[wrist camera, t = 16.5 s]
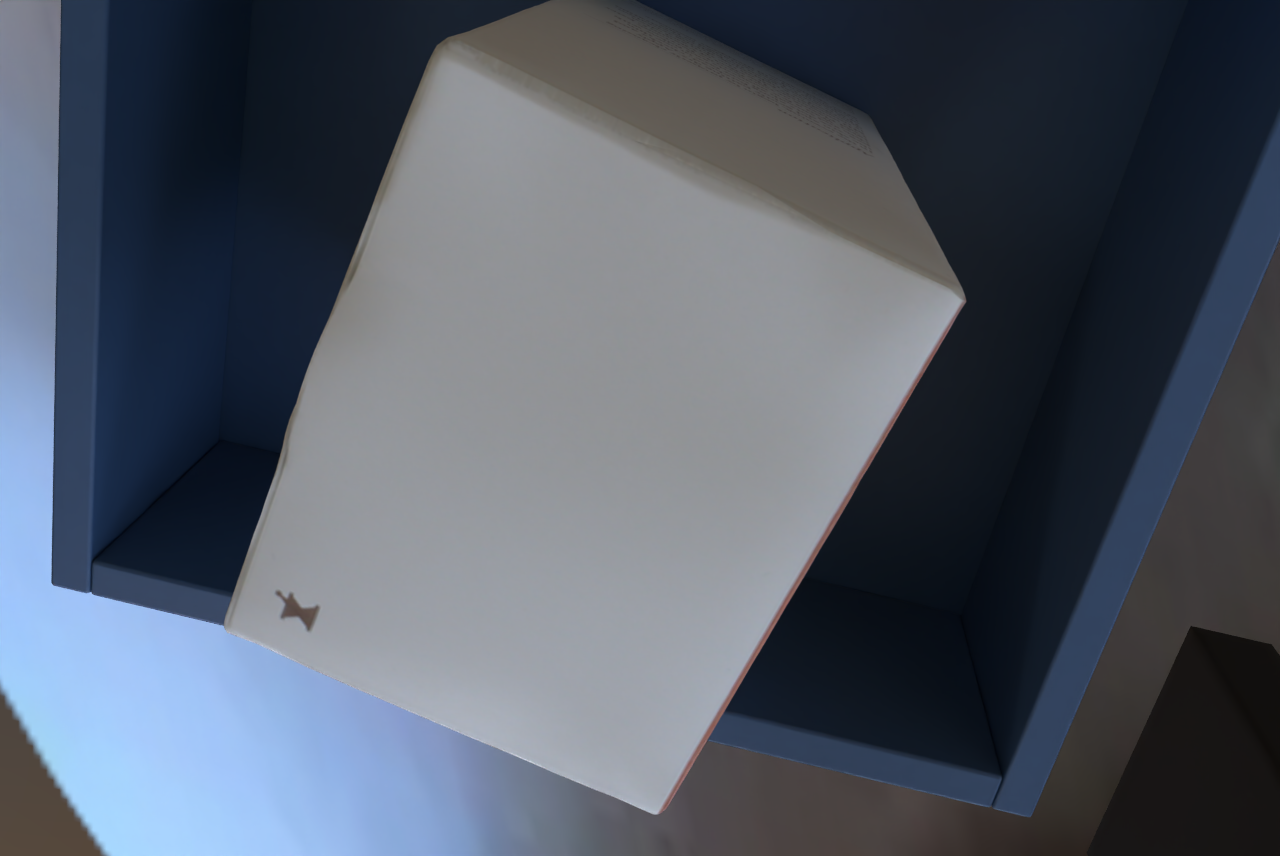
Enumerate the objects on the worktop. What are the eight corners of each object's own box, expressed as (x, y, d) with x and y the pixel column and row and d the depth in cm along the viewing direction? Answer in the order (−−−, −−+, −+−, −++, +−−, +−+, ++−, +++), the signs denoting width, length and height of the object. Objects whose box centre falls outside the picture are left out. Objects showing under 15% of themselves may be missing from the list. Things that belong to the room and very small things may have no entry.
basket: (203, 444, 30) (49, 586, 24) (257, -318, 24) (65, -405, 17) (977, 626, 30) (1031, 819, 24) (1248, -93, 24) (1426, -97, 17)
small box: (708, 440, 28) (659, 836, 16) (451, 322, 27) (201, 638, 15) (882, 110, 25) (984, 293, 13) (595, -30, 24) (420, 24, 12)
